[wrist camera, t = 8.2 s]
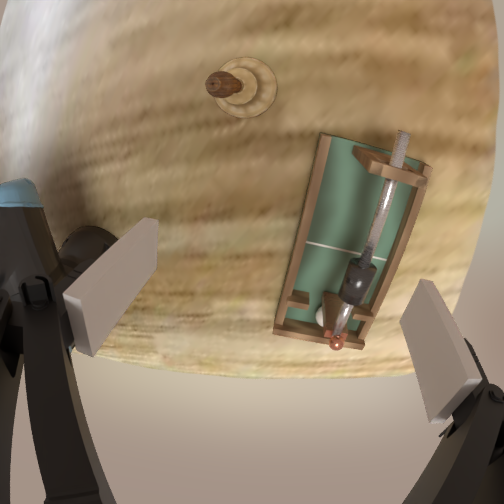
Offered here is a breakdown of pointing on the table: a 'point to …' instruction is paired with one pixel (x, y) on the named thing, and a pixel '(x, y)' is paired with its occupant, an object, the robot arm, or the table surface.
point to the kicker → (361, 261)
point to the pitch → (347, 234)
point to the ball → (319, 316)
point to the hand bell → (243, 87)
